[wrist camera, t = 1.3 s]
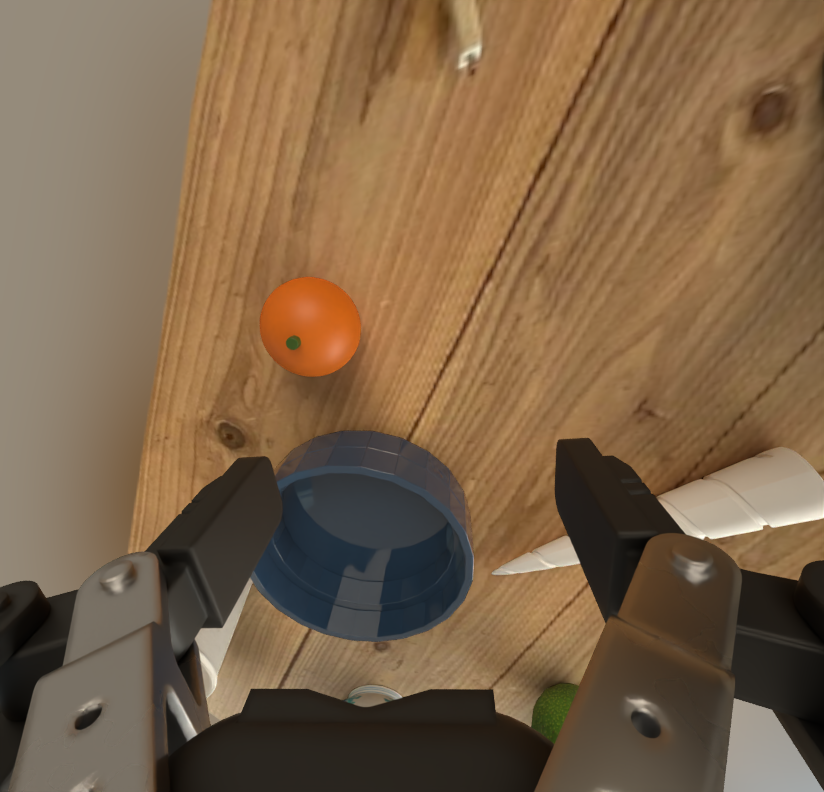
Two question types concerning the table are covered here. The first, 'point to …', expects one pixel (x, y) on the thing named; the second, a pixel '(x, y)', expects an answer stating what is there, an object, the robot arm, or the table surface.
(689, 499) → the unicorn horn
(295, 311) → the mandarin
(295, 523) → the bowl
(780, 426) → the table surface
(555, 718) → the avocado
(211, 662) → the dixie cup
